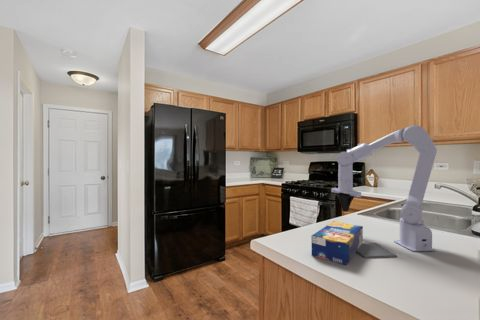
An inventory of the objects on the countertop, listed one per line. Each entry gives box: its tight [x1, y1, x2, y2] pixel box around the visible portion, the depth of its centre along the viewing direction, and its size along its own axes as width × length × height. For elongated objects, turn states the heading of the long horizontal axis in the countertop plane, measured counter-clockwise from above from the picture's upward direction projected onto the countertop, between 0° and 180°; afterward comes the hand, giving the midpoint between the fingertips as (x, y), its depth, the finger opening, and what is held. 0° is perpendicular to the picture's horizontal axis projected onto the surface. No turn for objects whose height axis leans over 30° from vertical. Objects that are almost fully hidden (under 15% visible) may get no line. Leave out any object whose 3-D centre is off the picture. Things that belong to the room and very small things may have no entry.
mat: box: [356, 242, 398, 259], centre depth 80 cm, size 11×11×1 cm
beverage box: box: [311, 221, 364, 266], centre depth 82 cm, size 7×11×22 cm
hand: (345, 211), depth 99 cm, fingers closed
